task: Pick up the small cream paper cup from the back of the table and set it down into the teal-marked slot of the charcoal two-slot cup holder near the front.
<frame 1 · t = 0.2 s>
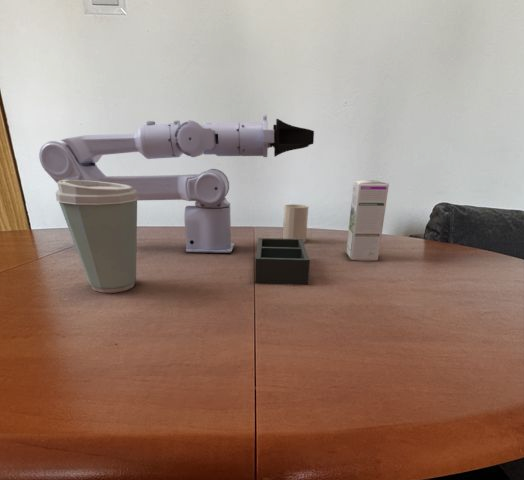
hand: (311, 139, 72), 21 cm above the table, tool horizontal, fingers open, 7 cm apart
disposable coffee cup: (114, 288, 58), on the table
paper cup: (294, 240, 91), on the table
cup holder: (280, 269, 68), on the table
syrup box: (360, 258, 78), on the table
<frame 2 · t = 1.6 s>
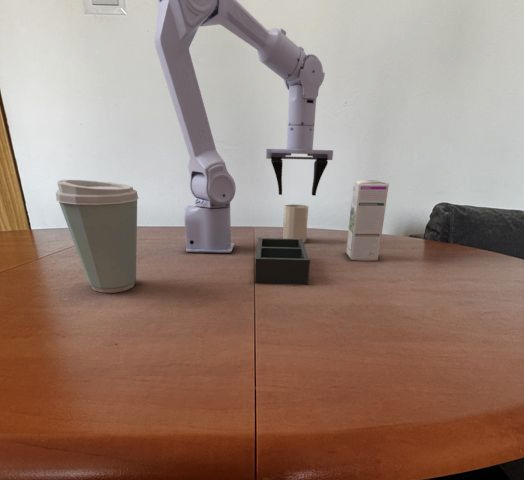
hand: (296, 194, 87), 10 cm above the table, tool pointing down, fingers open, 7 cm apart
nothing on the table moved.
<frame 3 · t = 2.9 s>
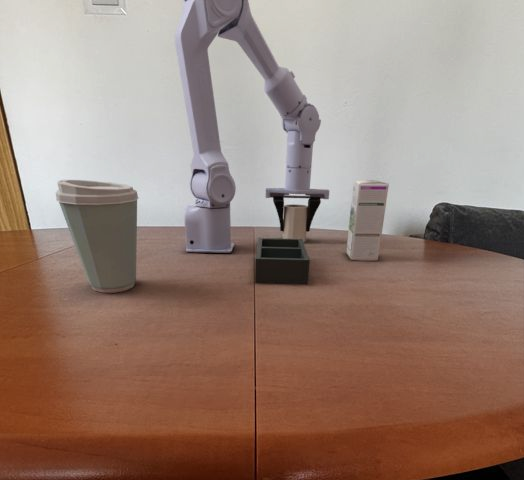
hand: (294, 230, 90), 2 cm above the table, tool pointing down, fingers closed on paper cup, 5 cm apart
paper cup: (294, 240, 91), on the table, touching gripper
everything else where it was.
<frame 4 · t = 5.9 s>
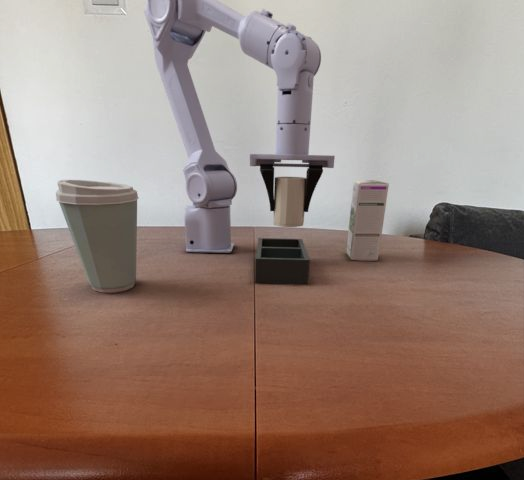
hand: (289, 210, 69), 9 cm above the table, tool pointing down, fingers closed on paper cup, 5 cm apart
paper cup: (288, 224, 70), point 7 cm above the table, touching gripper
everything else where it was.
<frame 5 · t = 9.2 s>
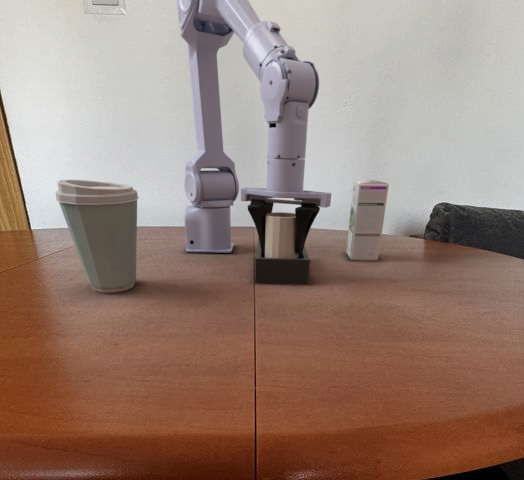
hand: (282, 249, 63), 4 cm above the table, tool pointing down, fingers closed on paper cup, 5 cm apart
paper cup: (281, 264, 64), point 2 cm above the table, touching gripper
everything else where it was.
when the fingers open (4 cm above the table, at t = 12.9 s): paper cup drops 1 cm, resting on cup holder.
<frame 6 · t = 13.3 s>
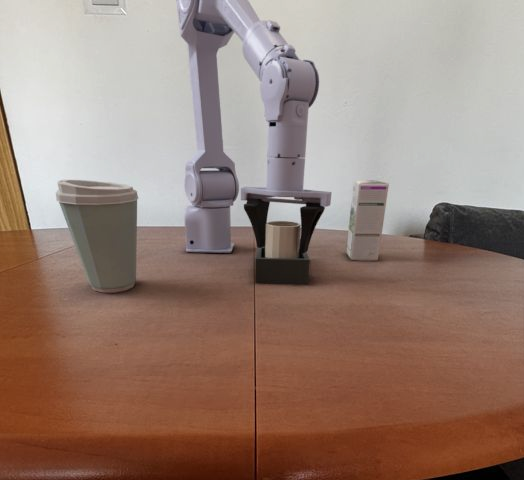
hand: (282, 249, 63), 5 cm above the table, tool pointing down, fingers open, 7 cm apart
paper cup: (281, 272, 65), point 1 cm above the table, touching cup holder
everything else where it was.
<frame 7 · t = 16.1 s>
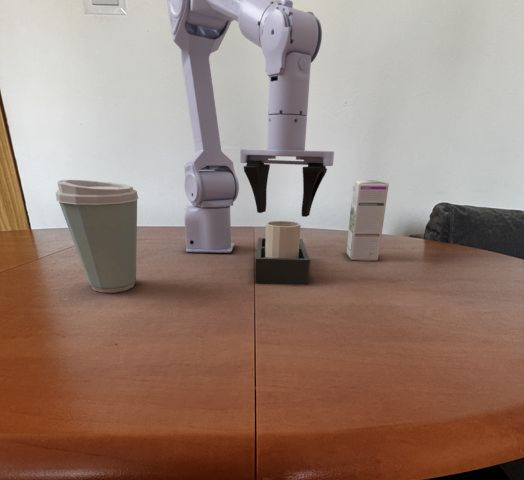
hand: (283, 214, 61), 10 cm above the table, tool pointing down, fingers open, 7 cm apart
nothing on the table moved.
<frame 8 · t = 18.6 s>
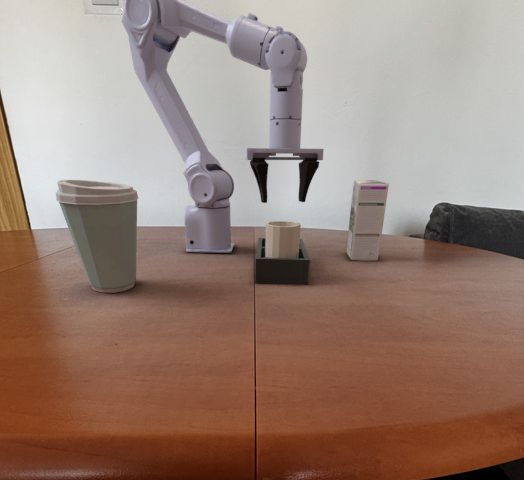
hand: (283, 202, 73), 10 cm above the table, tool pointing down, fingers open, 7 cm apart
nothing on the table moved.
at the end: paper cup 0.0 cm from the target spot in the cup holder, point 0.7 cm above the cup holder's base; paper cup tilted 0°; the gripper is holding nothing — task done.
